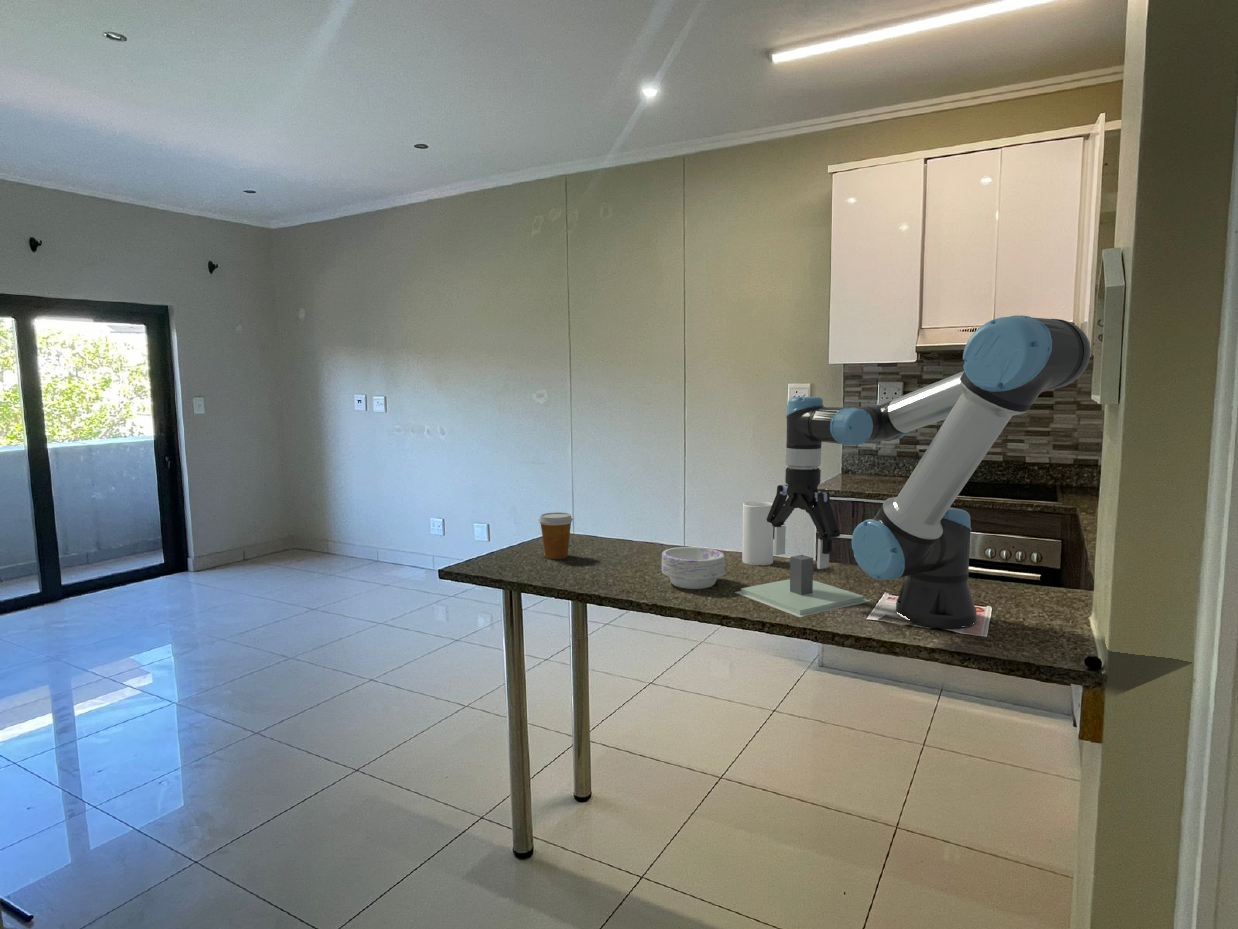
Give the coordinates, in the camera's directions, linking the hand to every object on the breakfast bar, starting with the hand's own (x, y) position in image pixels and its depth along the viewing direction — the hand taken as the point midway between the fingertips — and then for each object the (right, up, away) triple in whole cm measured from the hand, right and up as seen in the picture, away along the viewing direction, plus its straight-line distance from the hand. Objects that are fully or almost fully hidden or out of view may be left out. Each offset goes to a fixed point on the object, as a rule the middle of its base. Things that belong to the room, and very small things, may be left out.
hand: (800, 561), depth 160 cm
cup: (-3, -5, +34) cm, 35 cm away
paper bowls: (-23, -8, +13) cm, 27 cm away
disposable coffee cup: (-59, -5, +43) cm, 73 cm away
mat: (0, -8, +1) cm, 9 cm away
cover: (0, -8, 0) cm, 8 cm away
